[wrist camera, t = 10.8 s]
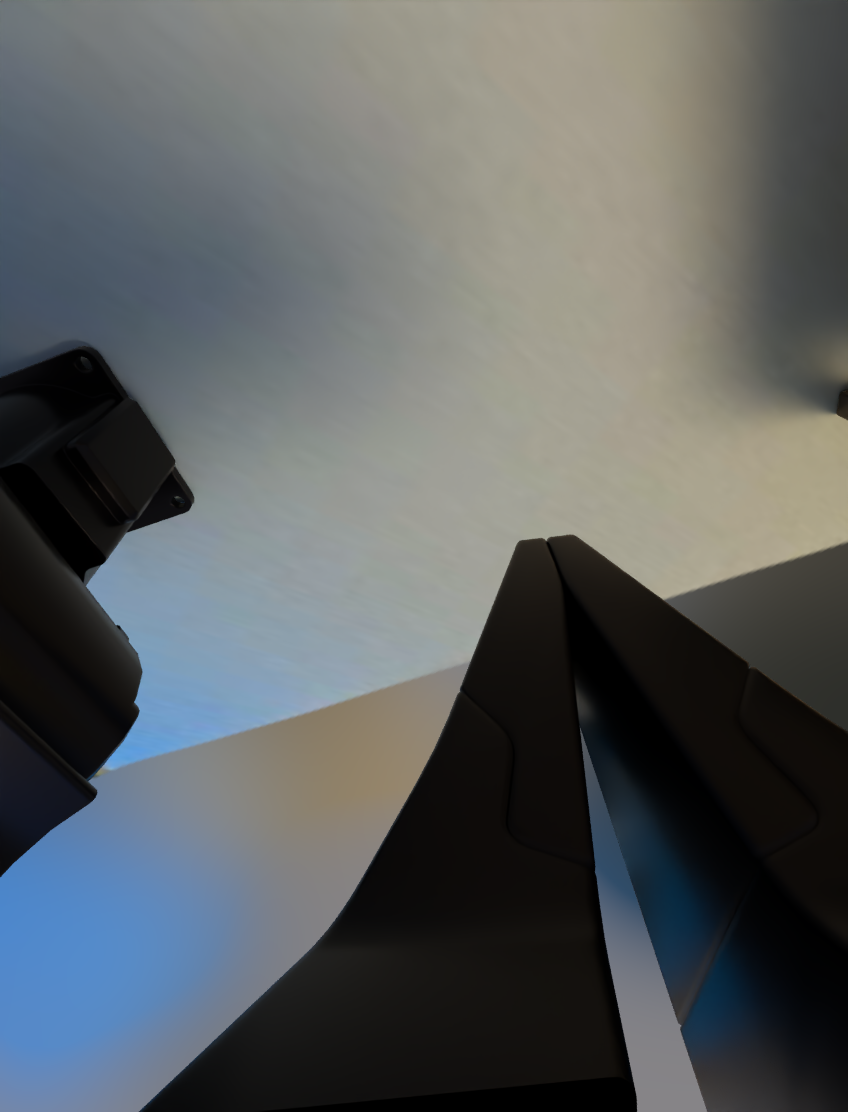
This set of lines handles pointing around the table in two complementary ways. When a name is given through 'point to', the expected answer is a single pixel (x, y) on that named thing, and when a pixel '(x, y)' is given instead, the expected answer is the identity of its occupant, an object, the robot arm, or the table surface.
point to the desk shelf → (843, 405)
